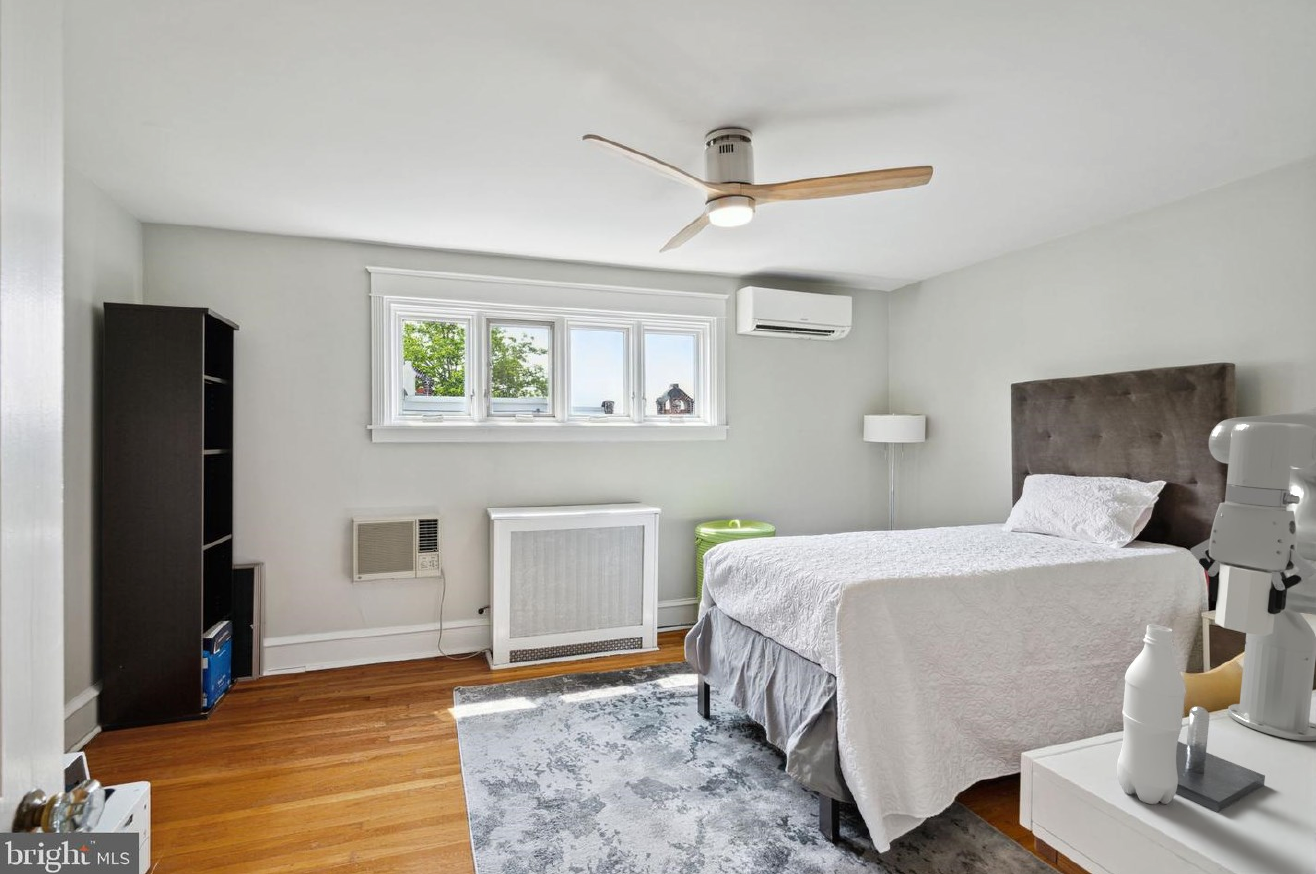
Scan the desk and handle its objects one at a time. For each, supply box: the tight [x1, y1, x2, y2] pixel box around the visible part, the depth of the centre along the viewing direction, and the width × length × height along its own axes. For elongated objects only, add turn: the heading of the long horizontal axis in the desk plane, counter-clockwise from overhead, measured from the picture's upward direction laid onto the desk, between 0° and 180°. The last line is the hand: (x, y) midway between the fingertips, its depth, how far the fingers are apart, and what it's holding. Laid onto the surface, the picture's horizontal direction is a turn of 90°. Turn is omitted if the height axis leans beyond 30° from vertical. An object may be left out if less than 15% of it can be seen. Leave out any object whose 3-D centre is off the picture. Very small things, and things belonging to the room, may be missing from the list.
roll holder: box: [1175, 706, 1266, 813], centre depth 103 cm, size 16×12×11 cm
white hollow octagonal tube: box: [1214, 564, 1275, 636], centre depth 109 cm, size 7×7×10 cm
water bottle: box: [1116, 623, 1187, 805], centre depth 97 cm, size 7×7×25 cm
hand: (1245, 605), depth 109 cm, fingers closed on white hollow octagonal tube, 6 cm apart
